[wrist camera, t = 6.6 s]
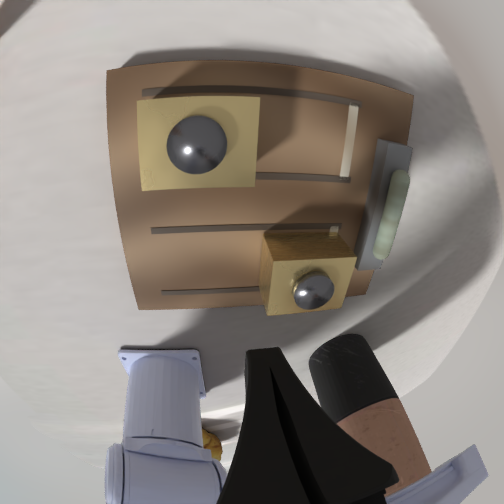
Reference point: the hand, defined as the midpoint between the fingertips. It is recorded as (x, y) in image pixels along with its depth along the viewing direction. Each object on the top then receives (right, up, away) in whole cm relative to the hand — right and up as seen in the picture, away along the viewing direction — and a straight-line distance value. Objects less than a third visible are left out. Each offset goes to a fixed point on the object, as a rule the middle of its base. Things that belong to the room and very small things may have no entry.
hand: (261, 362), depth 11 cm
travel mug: (+9, -7, +18) cm, 21 cm away
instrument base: (0, +8, +6) cm, 10 cm away
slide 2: (+3, +4, +7) cm, 9 cm away
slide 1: (-3, +11, +2) cm, 11 cm away
